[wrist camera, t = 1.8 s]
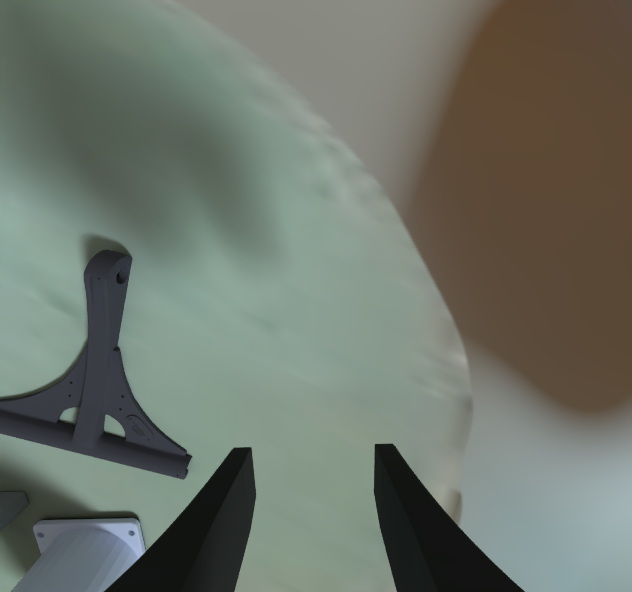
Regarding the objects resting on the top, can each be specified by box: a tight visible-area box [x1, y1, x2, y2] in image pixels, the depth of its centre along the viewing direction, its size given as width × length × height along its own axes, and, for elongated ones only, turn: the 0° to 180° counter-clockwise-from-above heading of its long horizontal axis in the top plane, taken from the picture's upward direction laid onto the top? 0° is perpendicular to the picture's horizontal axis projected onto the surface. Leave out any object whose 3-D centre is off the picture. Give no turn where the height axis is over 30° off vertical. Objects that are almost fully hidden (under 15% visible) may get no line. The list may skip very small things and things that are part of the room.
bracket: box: [0, 250, 192, 479], centre depth 19 cm, size 14×15×3 cm
